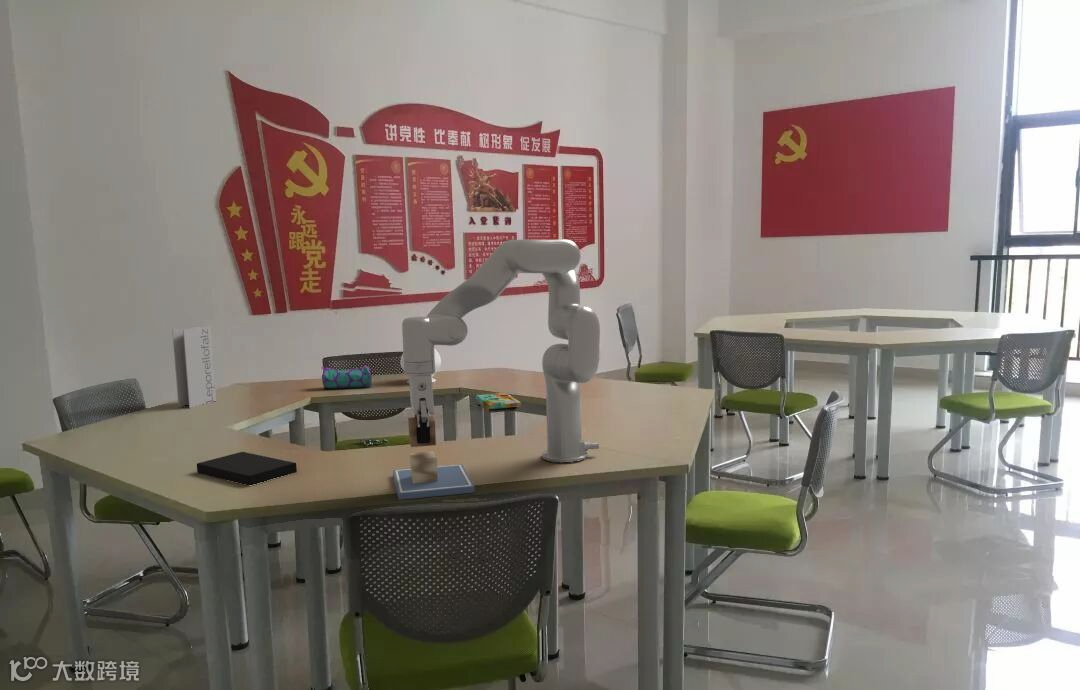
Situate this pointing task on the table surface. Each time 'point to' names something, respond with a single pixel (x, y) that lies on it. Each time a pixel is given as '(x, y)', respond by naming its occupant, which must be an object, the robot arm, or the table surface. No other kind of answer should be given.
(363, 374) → the pencil case
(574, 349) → the robot arm
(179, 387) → the brochure
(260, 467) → the external hard drive
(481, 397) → the puzzle game
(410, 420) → the walnut block
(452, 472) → the blueprint board
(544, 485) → the table surface
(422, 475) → the maple base block
